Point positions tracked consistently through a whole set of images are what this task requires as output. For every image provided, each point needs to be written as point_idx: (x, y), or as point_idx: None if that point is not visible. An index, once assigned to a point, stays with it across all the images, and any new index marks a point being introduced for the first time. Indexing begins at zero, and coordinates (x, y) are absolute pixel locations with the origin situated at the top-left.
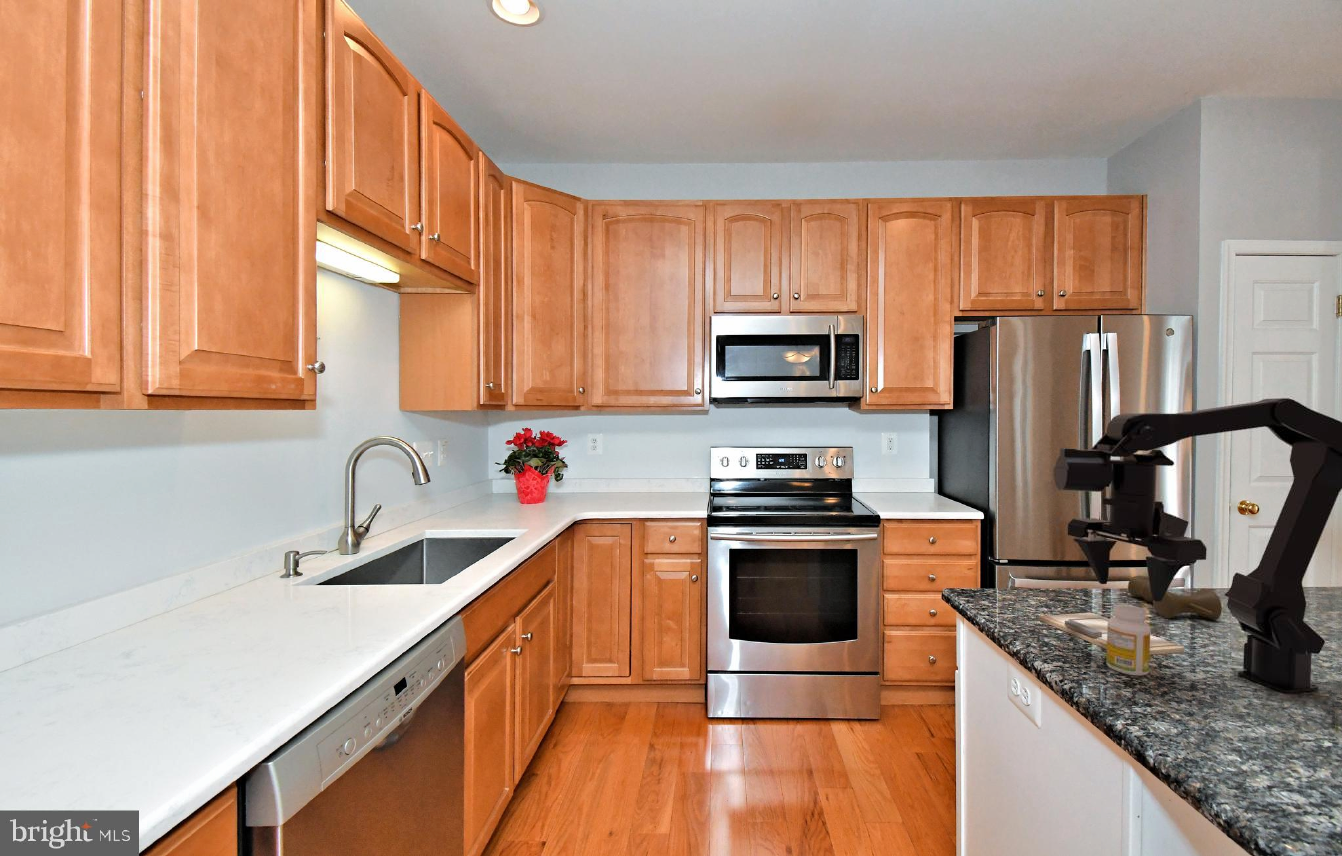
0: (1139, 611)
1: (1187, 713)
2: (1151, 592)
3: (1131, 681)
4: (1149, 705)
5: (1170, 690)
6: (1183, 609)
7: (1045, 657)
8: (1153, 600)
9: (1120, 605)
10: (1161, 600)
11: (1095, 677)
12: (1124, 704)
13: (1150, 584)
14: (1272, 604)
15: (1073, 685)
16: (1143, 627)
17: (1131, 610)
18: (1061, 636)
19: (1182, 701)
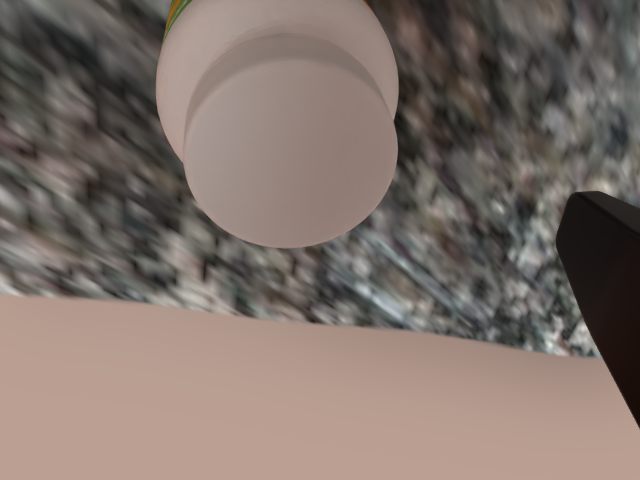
0: (384, 163)
1: (613, 140)
2: (589, 320)
3: None
4: (529, 208)
5: (485, 24)
6: None
7: (116, 257)
8: (556, 244)
9: (224, 180)
10: (599, 194)
11: None
12: (495, 269)
13: (636, 406)
14: None
15: (353, 314)
16: (390, 104)
17: (348, 198)
18: None
19: (561, 72)
